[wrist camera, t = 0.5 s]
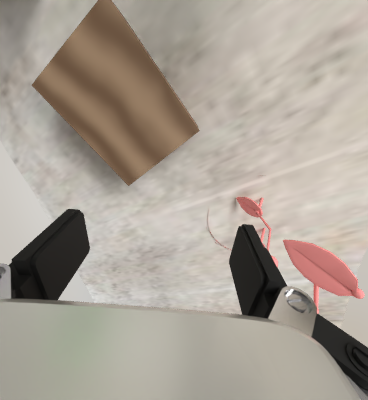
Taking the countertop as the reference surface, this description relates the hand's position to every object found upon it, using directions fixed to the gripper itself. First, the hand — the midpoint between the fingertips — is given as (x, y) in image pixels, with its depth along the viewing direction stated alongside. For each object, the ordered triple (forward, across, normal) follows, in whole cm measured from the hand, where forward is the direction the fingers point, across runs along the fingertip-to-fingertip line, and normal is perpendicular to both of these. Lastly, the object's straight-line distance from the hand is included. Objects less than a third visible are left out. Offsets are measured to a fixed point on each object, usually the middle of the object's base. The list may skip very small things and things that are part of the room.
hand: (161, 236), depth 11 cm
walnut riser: (+31, +10, -5) cm, 32 cm away
